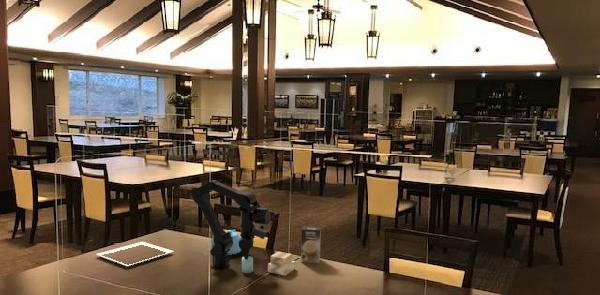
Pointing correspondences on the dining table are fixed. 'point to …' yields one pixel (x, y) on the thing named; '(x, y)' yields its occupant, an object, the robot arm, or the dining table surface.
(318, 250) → the coffee box
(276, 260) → the oak top block
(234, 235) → the teapot
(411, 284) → the dining table surface
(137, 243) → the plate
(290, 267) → the birch base block
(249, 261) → the teal cylinder
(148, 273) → the dining table surface
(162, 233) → the dining table surface
